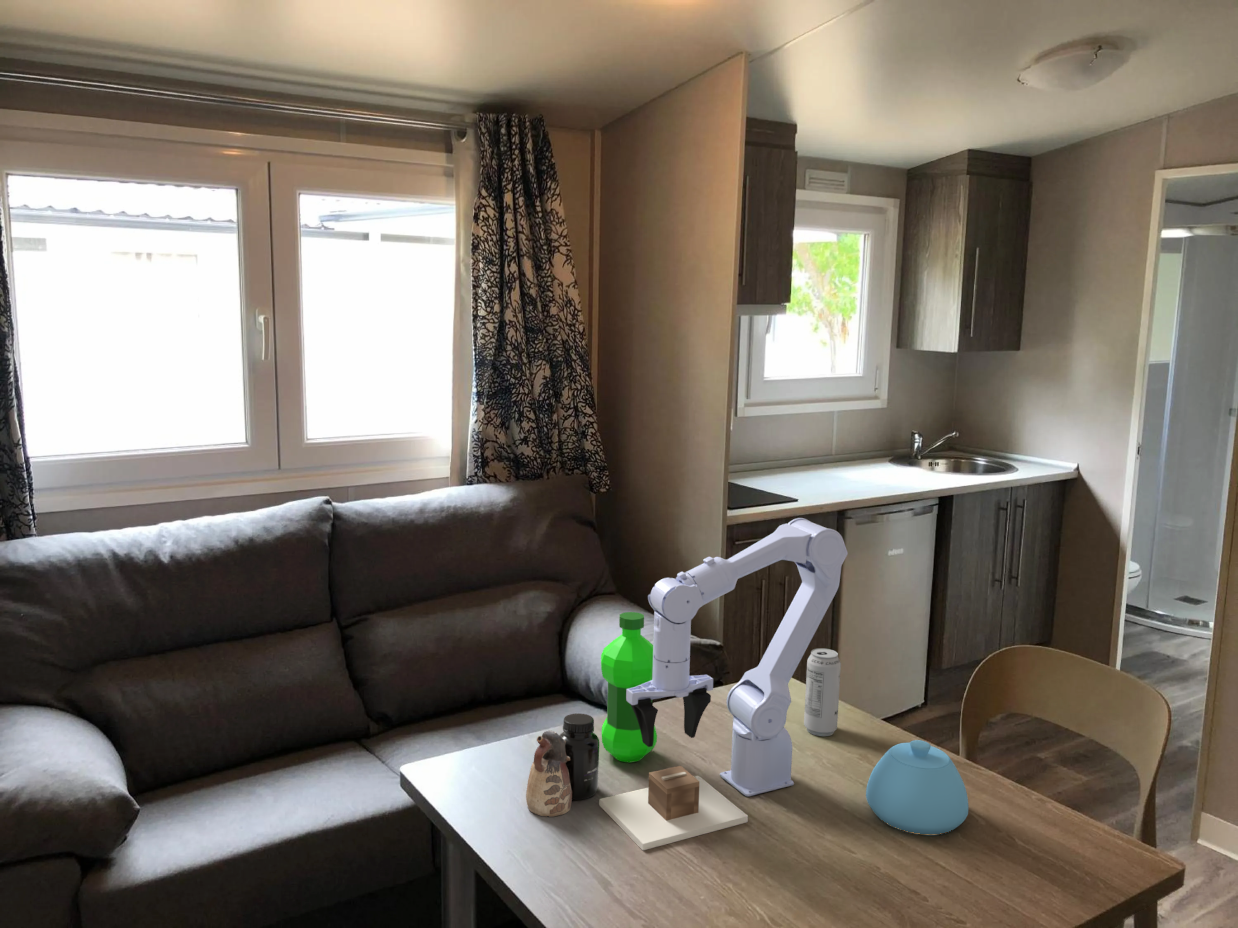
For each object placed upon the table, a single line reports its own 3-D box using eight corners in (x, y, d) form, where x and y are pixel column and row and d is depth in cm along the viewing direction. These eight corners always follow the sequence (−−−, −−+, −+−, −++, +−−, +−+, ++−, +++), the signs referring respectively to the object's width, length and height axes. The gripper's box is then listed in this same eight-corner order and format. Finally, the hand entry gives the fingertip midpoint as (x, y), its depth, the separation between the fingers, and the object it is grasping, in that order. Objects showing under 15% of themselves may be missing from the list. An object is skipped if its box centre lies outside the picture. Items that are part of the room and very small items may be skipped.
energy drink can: (842, 736, 171) (847, 657, 169) (811, 738, 170) (816, 659, 168) (828, 722, 177) (832, 646, 175) (798, 724, 176) (802, 648, 173)
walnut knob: (679, 795, 146) (680, 763, 145) (698, 812, 141) (699, 779, 140) (648, 803, 144) (648, 770, 143) (666, 820, 139) (667, 786, 138)
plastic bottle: (655, 741, 167) (658, 606, 163) (659, 769, 157) (664, 625, 153) (599, 741, 167) (601, 606, 163) (599, 769, 156) (602, 625, 153)
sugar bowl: (983, 814, 145) (989, 743, 143) (941, 852, 134) (946, 776, 132) (893, 780, 155) (897, 714, 153) (847, 814, 144) (851, 742, 142)
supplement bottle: (598, 801, 146) (600, 728, 144) (554, 800, 146) (555, 727, 144) (597, 780, 153) (599, 710, 151) (555, 780, 152) (557, 709, 151)
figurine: (582, 805, 144) (583, 732, 143) (547, 822, 139) (547, 746, 138) (551, 788, 149) (552, 717, 148) (516, 804, 144) (517, 730, 143)
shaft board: (698, 781, 153) (698, 755, 152) (747, 821, 141) (748, 793, 140) (599, 804, 145) (599, 777, 144) (642, 850, 132) (643, 820, 132)
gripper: (642, 672, 138) (640, 758, 140) (725, 657, 144) (721, 741, 146) (620, 656, 144) (618, 740, 146) (700, 643, 151) (697, 723, 153)
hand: (668, 739), depth 147 cm, fingers open, 7 cm apart
